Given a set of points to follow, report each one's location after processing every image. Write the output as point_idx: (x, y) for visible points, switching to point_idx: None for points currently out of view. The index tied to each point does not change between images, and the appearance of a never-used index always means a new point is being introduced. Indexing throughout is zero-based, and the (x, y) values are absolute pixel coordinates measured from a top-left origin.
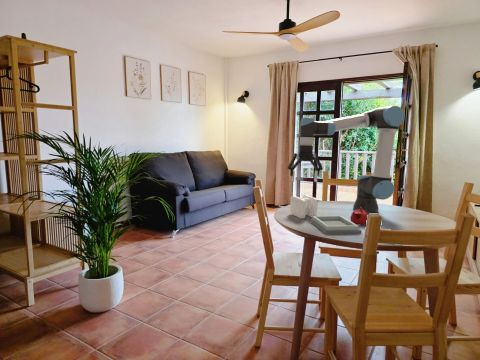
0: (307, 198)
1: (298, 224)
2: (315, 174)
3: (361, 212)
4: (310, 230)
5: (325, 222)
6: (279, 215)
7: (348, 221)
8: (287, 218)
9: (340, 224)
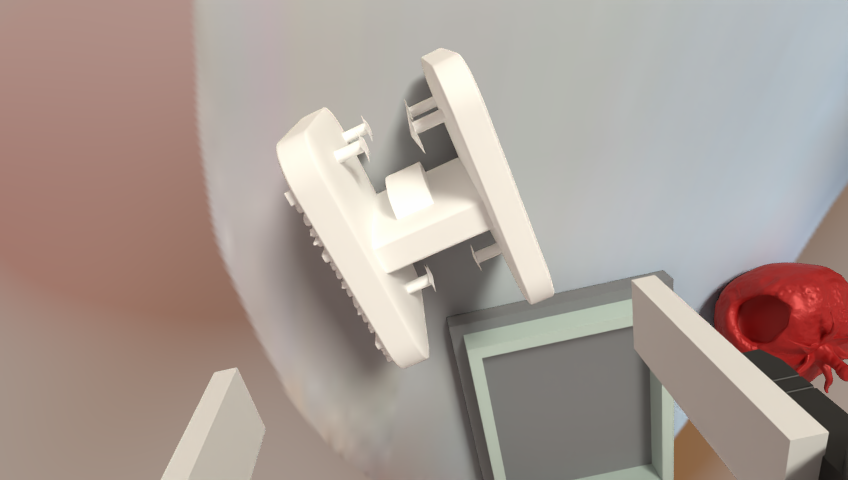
0: (469, 211)
1: (366, 380)
2: (716, 415)
3: (812, 371)
4: (423, 462)
5: (532, 380)
6: (220, 182)
7: (661, 417)
8: (292, 260)
9: (609, 401)
